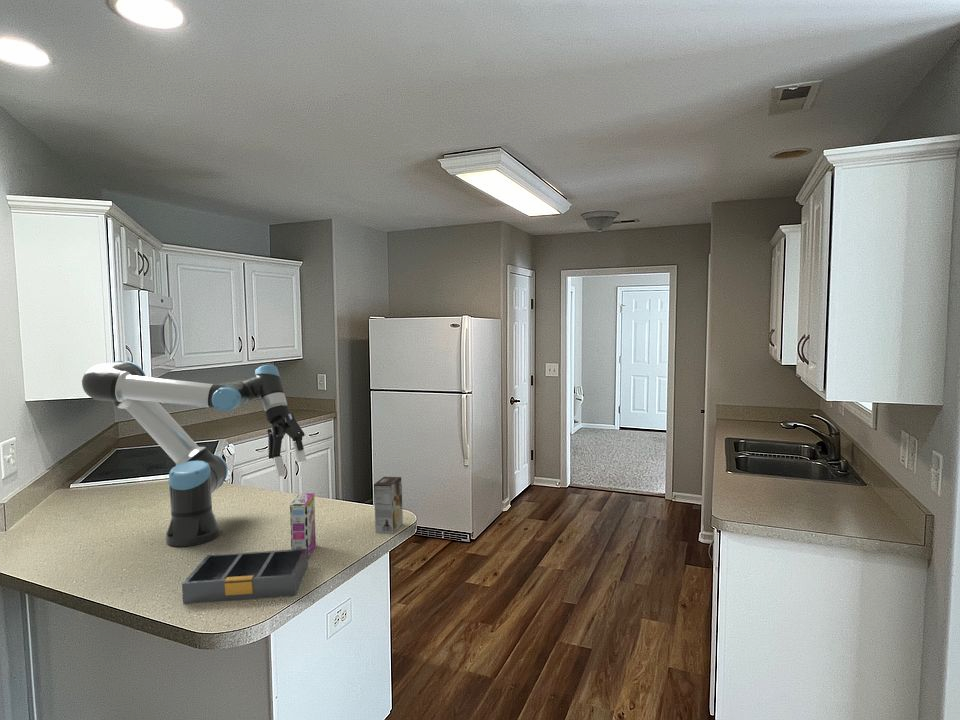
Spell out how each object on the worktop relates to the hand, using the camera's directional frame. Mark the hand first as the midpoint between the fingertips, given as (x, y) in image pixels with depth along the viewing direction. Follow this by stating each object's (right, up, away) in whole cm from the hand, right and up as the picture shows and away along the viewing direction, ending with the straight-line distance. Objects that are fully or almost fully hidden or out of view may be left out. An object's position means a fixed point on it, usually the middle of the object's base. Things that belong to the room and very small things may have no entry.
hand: (292, 468), depth 183 cm
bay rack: (+1, -23, -36) cm, 43 cm away
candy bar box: (+9, -22, -17) cm, 29 cm away
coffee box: (+31, -20, +2) cm, 37 cm away
